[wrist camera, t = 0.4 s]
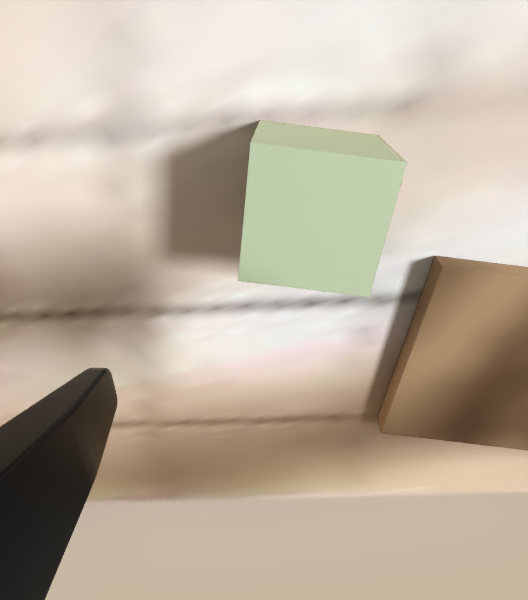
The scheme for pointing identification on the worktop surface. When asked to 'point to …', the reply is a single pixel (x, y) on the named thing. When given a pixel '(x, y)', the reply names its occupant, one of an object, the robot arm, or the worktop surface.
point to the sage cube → (317, 207)
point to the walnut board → (464, 358)
